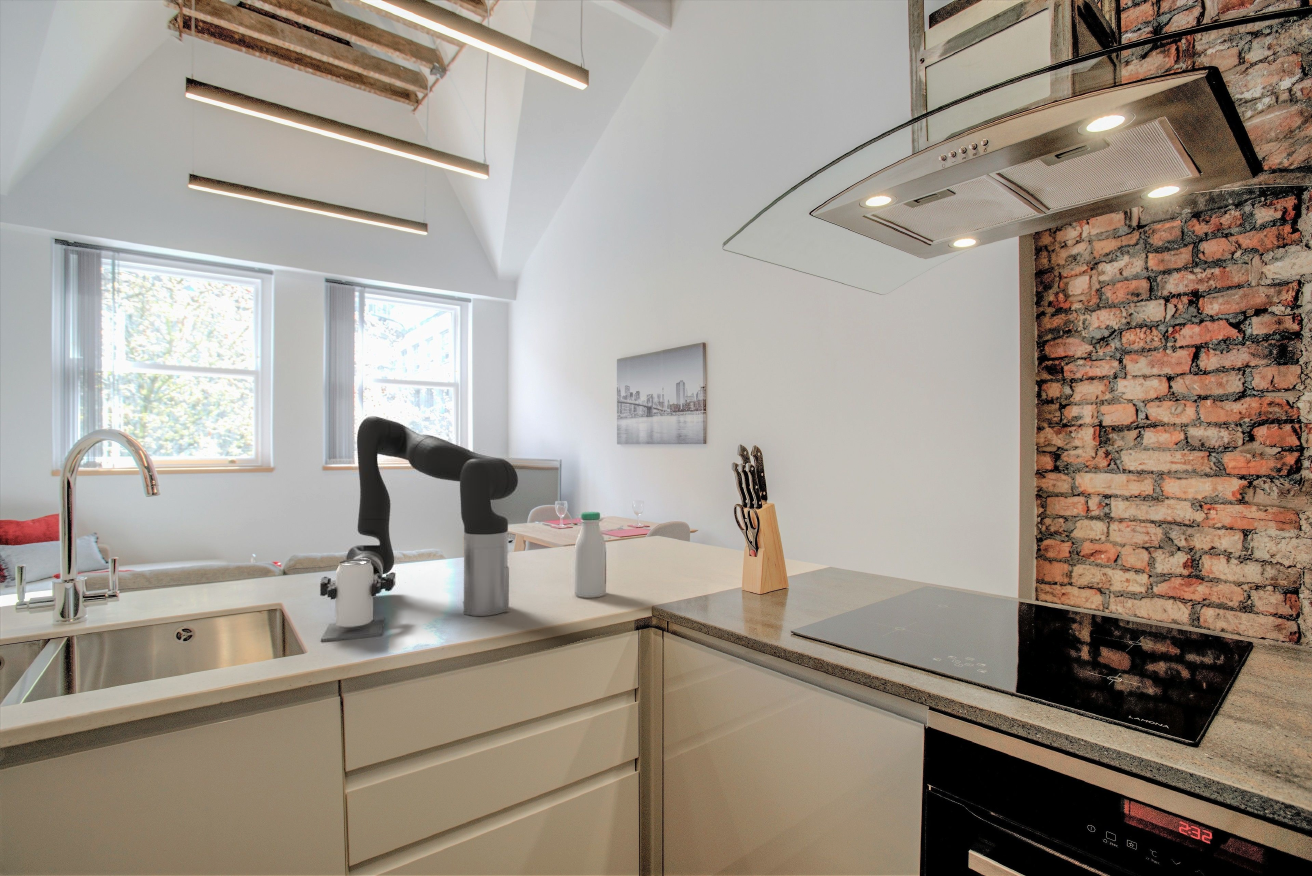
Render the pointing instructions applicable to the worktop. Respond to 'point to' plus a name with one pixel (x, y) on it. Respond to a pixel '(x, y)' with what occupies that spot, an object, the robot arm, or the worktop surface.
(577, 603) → the worktop surface
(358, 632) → the coaster
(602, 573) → the milk bottle
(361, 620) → the can
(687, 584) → the worktop surface
